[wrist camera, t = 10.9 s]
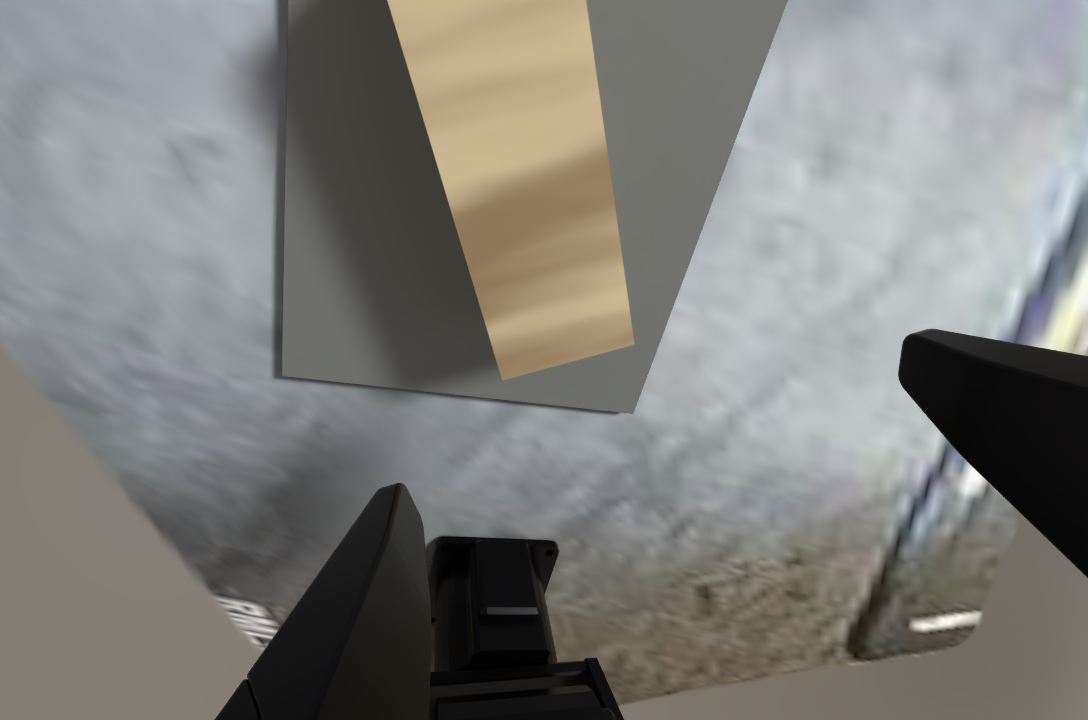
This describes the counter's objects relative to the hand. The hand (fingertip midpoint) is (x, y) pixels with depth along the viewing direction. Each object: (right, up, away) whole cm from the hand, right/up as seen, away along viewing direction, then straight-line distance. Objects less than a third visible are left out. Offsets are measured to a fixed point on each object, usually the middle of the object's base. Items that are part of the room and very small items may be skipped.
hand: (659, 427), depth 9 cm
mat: (-3, +8, +10) cm, 13 cm away
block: (-2, +2, +10) cm, 11 cm away
